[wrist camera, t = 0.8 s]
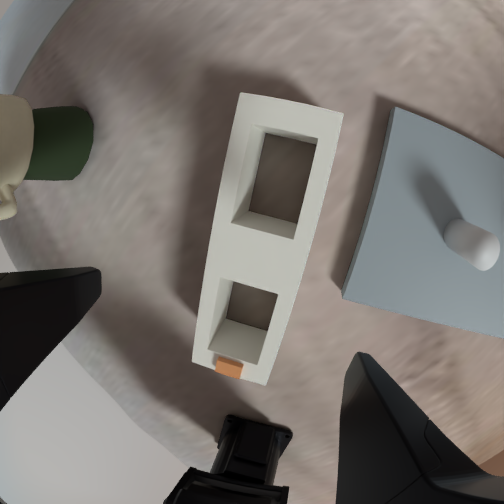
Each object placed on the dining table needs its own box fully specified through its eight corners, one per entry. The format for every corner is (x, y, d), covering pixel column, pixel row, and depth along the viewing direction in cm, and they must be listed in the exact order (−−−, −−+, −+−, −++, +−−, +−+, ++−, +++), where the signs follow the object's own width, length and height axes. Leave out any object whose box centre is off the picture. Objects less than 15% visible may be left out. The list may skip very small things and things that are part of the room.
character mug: (37, 126, 20) (-75, 134, 8) (79, 72, 18) (-47, 53, 5) (76, 218, 21) (-52, 265, 9) (126, 168, 19) (-36, 192, 7)
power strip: (337, 125, 16) (344, 112, 11) (275, 350, 21) (264, 389, 17) (256, 107, 16) (238, 90, 12) (211, 331, 21) (189, 365, 17)
